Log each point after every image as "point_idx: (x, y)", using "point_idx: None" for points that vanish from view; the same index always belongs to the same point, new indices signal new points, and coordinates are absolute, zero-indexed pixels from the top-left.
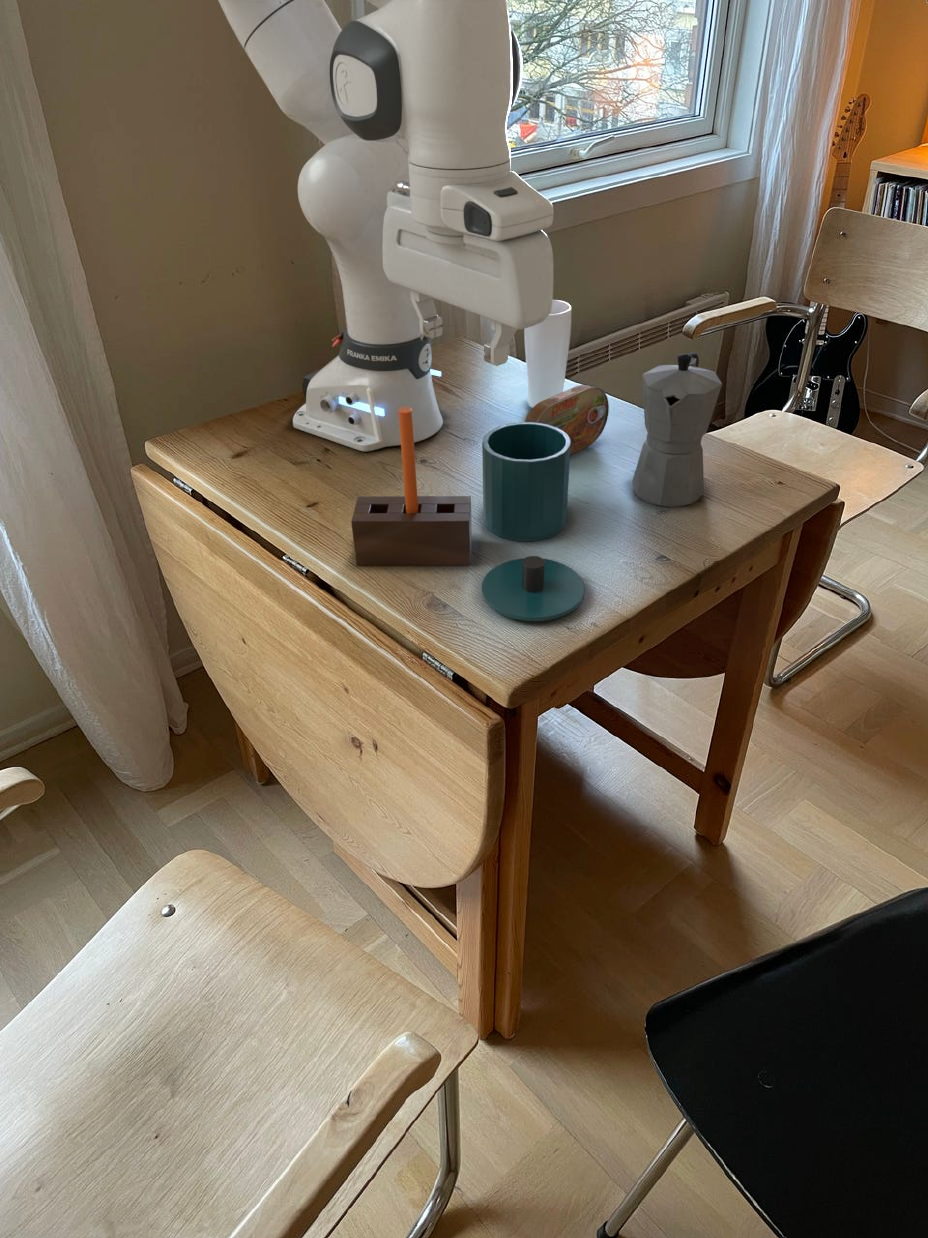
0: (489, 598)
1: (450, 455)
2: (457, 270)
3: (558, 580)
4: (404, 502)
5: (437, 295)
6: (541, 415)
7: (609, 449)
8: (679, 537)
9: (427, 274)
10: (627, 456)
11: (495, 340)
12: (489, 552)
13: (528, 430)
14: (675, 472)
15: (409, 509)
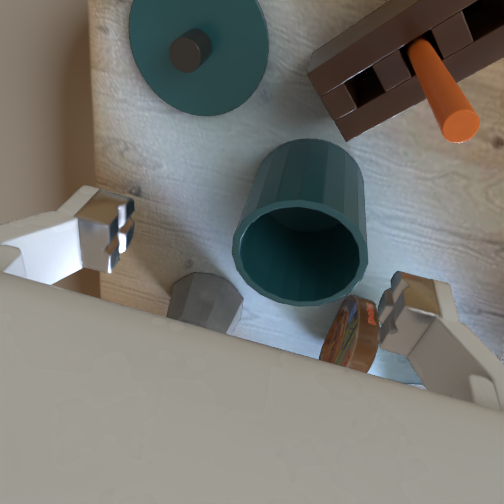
0: None
1: (481, 275)
2: (63, 491)
3: (180, 78)
4: (445, 63)
5: (305, 369)
6: (354, 343)
7: (301, 342)
8: (147, 232)
9: (382, 482)
10: (278, 337)
11: (28, 224)
12: (307, 98)
13: (324, 291)
14: (177, 305)
15: (421, 43)
